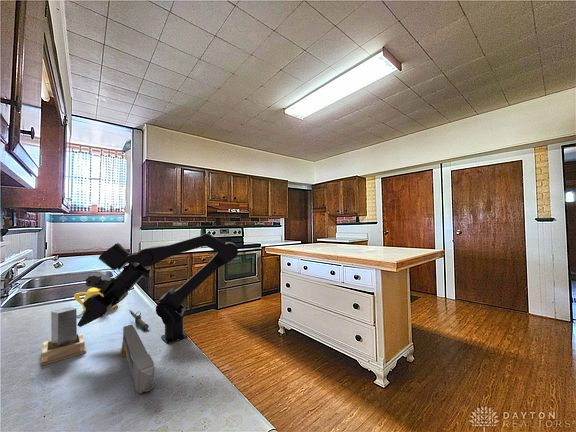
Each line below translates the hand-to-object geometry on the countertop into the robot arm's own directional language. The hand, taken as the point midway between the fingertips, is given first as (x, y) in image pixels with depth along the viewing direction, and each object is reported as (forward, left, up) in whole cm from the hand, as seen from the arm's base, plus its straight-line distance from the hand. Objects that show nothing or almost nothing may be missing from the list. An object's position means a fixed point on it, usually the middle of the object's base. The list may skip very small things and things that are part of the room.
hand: (86, 320), depth 77 cm
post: (+3, +5, -8) cm, 10 cm away
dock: (+3, +5, -9) cm, 11 cm away
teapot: (+44, -7, -9) cm, 45 cm away
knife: (+11, -16, -9) cm, 21 cm away
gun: (-24, -8, -9) cm, 27 cm away
